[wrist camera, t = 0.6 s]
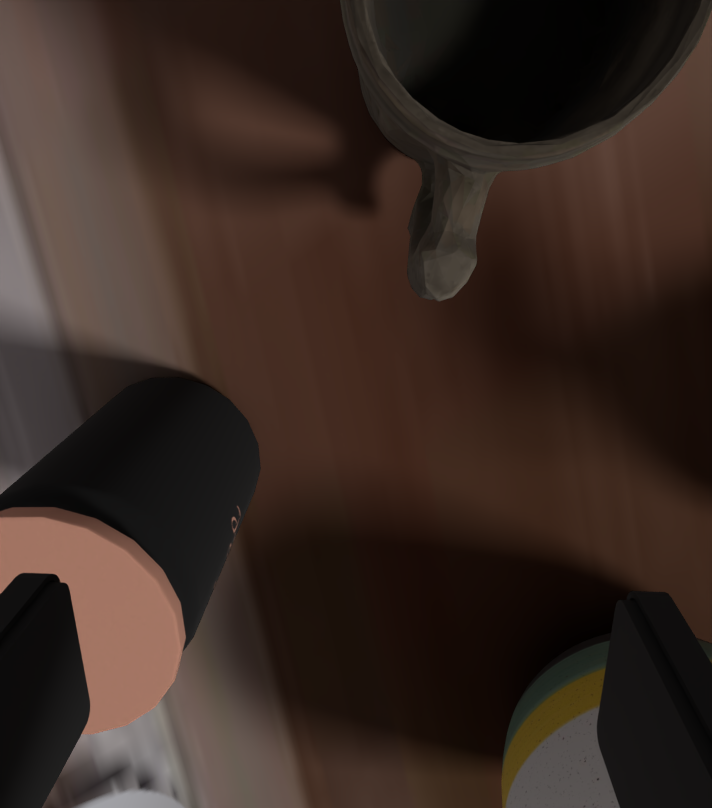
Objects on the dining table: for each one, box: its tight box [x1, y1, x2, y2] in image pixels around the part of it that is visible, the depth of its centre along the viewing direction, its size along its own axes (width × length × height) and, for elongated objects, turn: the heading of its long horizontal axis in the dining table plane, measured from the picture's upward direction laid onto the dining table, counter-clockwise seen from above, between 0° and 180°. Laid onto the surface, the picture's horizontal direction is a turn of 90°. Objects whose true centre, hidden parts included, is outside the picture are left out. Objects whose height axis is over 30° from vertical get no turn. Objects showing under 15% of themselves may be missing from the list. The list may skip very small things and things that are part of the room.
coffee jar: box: [0, 378, 261, 734], centre depth 35 cm, size 11×11×18 cm
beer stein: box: [340, 0, 712, 301], centre depth 27 cm, size 15×11×20 cm
